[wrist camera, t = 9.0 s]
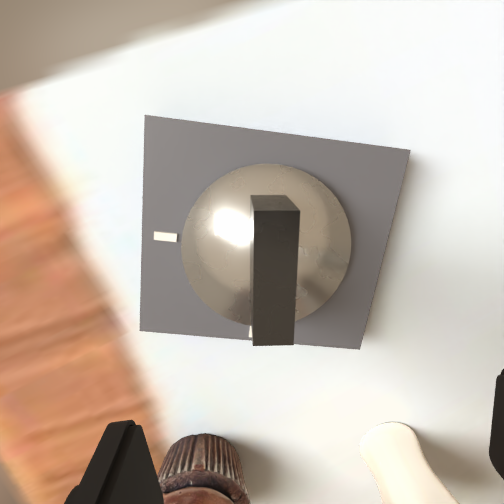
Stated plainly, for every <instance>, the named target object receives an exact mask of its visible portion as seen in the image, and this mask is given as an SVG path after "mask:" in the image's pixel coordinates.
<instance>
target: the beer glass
mask: <svg viewBox="0 0 504 504" xmlns="http://www.w3.org/2000/svg"><path fill="white" fill-rule="evenodd" d="M359 451H360V455H361V457H362V459H363V461H364V462H365V464H366V465H367V467H368V468H369V470H370V472H371V473H372V475H373V477H374V479H375V482H376V484H377V487H378V490H379V493H380V496H381V500H382V504H460V503H459V502H458V501H457V500H456V499H455V497H454V496H453V495H452V494H451V493H450V491H449V490H448V489H447V488H446V487H445V485H444V484H443V483H442V482H441V481H440V479H439V478H438V477H437V476H436V474H435V473H434V472H433V470H432V469H431V467H430V466H429V464H428V462H427V460H426V459H425V456H424V454H423V452H422V449H421V446H420V444H419V441H418V439H417V436H416V435H415V433H414V431H413V430H412V429H411V428H409V427H408V426H406V425H404V424H401V423H396V422H388V423H383V424H380V425H377V426H375V427H373V428H372V429H370V430H369V431H368V432H367V433H366V434H365V435H364V436H363V438H362V440H361V442H360V445H359Z"/></svg>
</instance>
